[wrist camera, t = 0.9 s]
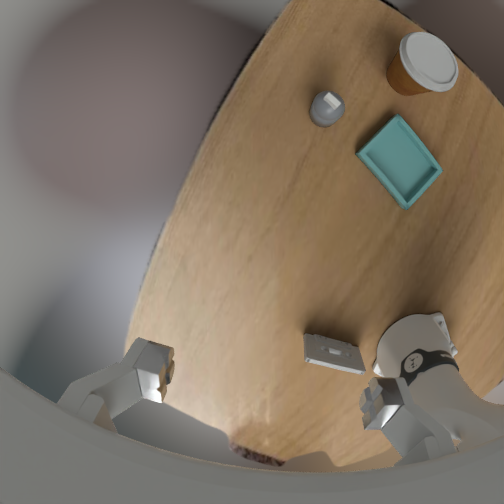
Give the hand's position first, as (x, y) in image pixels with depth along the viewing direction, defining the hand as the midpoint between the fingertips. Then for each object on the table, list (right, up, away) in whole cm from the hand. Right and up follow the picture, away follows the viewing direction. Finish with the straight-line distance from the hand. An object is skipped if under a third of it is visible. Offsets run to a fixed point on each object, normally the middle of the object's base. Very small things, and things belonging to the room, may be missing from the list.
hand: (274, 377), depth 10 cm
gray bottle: (+10, +26, +29) cm, 40 cm away
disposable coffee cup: (+25, +34, +24) cm, 49 cm away
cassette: (+15, -13, +41) cm, 45 cm away
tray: (+23, +20, +29) cm, 42 cm away
